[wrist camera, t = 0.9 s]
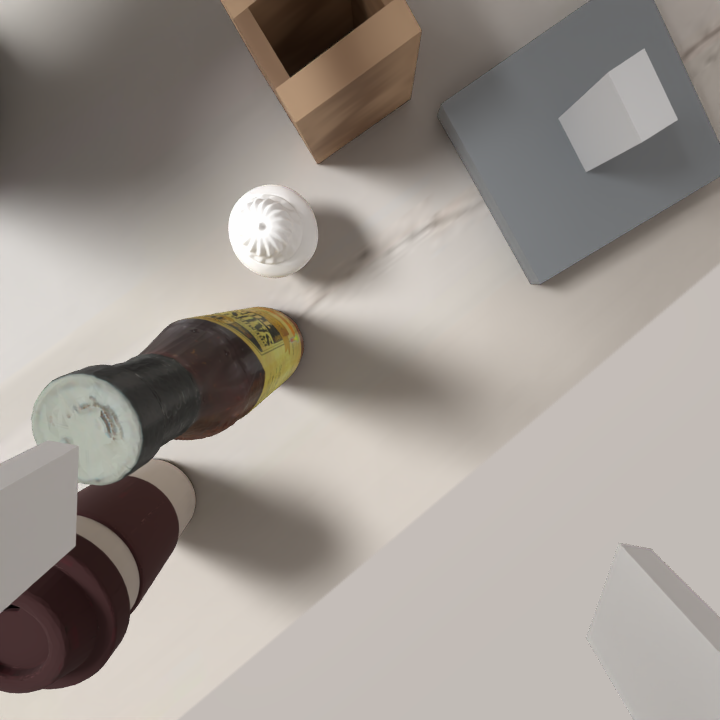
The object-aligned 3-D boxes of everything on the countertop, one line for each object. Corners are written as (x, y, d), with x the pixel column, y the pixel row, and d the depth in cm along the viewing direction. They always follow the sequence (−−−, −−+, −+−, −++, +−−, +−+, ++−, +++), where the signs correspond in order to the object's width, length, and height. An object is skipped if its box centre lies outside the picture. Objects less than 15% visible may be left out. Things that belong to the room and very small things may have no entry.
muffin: (336, 211, 31) (323, 191, 24) (311, 289, 32) (292, 291, 25) (258, 183, 31) (222, 155, 24) (236, 262, 32) (196, 257, 25)
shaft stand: (437, 116, 29) (457, 54, 21) (619, -11, 27) (717, -130, 19) (530, 283, 31) (581, 284, 23) (707, 177, 29) (829, 137, 21)
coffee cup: (194, 560, 37) (72, 743, 22) (92, 522, 37) (-101, 681, 22) (226, 466, 35) (115, 600, 20) (118, 425, 35) (-73, 530, 20)
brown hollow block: (317, 164, 30) (294, 120, 22) (256, 63, 29) (208, -22, 21) (410, 98, 29) (422, 26, 21) (350, -9, 28) (338, -129, 20)
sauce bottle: (311, 313, 32) (206, 361, 13) (299, 388, 33) (186, 536, 14) (231, 297, 32) (3, 322, 13) (222, 373, 34) (1, 499, 14)
